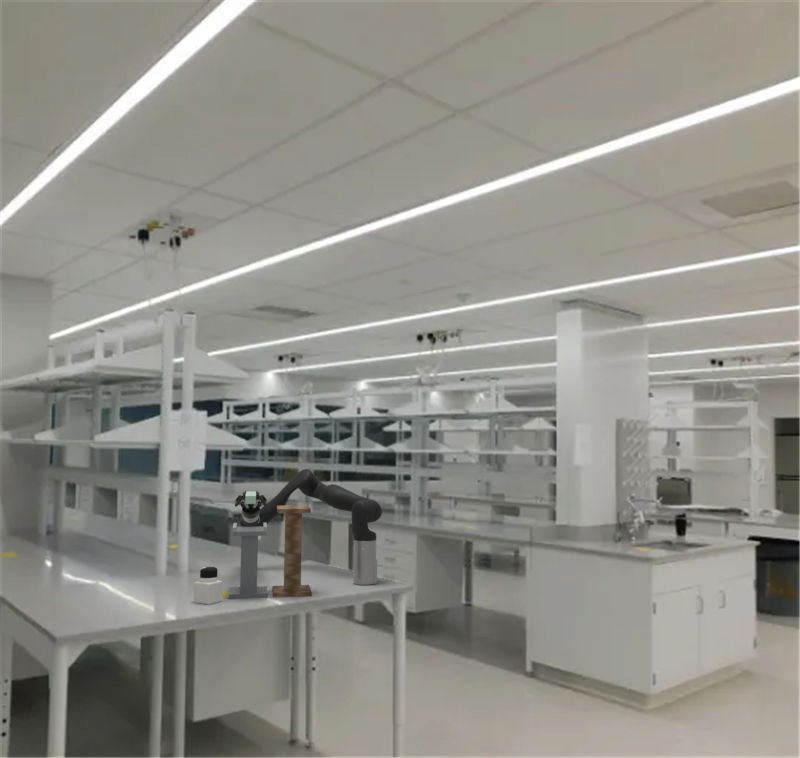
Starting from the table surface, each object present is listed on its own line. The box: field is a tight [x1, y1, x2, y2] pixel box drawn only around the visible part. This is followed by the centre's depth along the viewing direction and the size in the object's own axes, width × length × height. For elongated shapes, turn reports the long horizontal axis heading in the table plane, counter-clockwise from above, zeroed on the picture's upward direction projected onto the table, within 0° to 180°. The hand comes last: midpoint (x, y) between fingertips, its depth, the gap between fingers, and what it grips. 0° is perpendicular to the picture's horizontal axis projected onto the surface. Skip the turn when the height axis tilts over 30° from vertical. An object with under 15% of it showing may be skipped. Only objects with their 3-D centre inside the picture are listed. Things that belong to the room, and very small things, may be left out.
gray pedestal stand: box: [228, 522, 269, 600], centre depth 276 cm, size 14×16×26 cm
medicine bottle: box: [193, 566, 223, 606], centre depth 262 cm, size 7×7×12 cm
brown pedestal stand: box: [271, 504, 313, 598], centre depth 280 cm, size 14×16×32 cm
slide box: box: [245, 490, 257, 504], centre depth 297 cm, size 4×26×3 cm, turn 11°
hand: (251, 493), depth 301 cm, fingers closed on slide box, 4 cm apart
